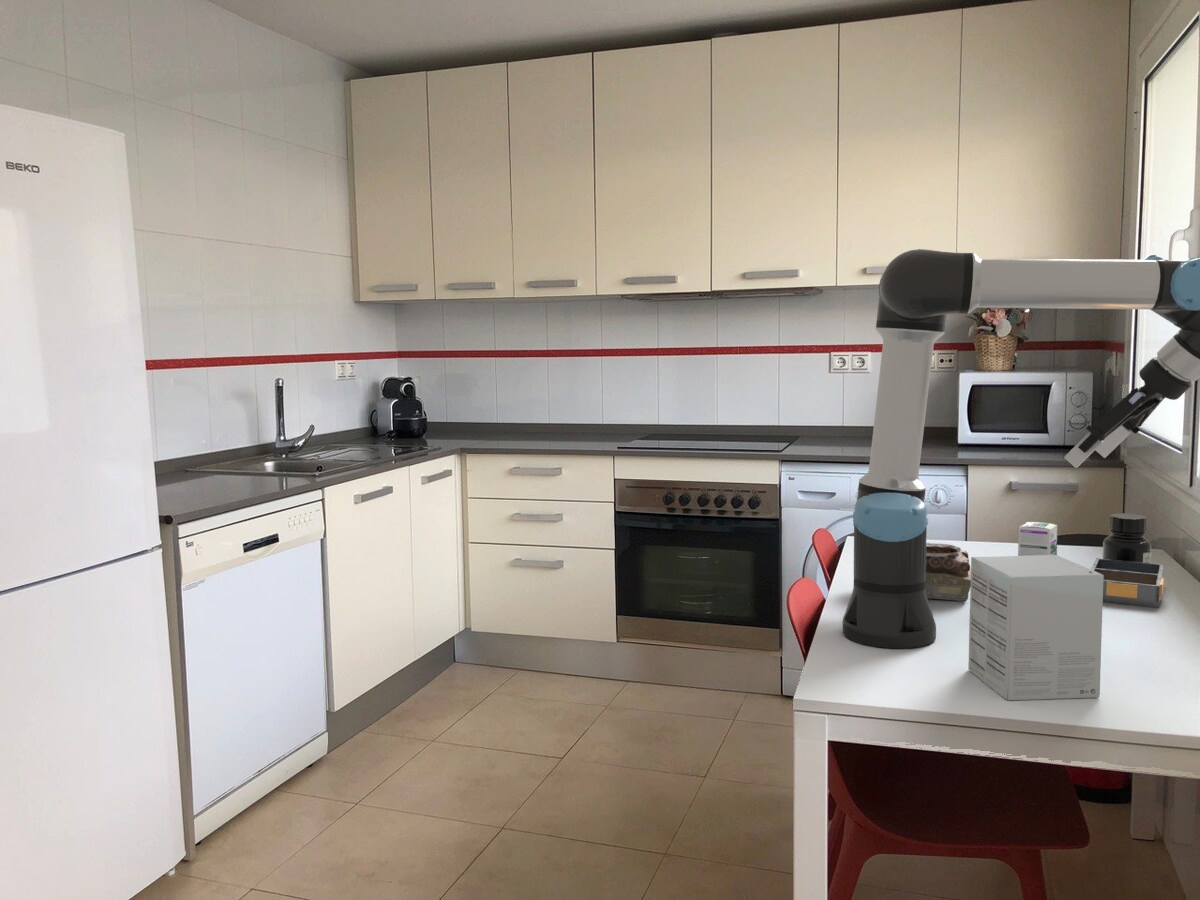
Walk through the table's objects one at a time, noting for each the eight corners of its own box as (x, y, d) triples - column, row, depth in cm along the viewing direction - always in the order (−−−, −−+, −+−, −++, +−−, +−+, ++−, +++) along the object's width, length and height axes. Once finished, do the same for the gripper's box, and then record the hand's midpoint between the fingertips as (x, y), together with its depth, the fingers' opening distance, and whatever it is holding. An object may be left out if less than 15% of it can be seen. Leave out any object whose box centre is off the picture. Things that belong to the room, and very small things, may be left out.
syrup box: (1049, 604, 177) (1052, 528, 175) (1016, 600, 180) (1018, 525, 179) (1056, 598, 181) (1058, 523, 180) (1023, 593, 185) (1025, 520, 183)
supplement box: (1052, 667, 143) (1056, 553, 142) (1101, 698, 130) (1106, 574, 128) (966, 669, 143) (968, 555, 141) (1006, 701, 130) (1009, 576, 128)
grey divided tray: (1161, 608, 173) (1162, 587, 173) (1085, 600, 180) (1085, 579, 179) (1165, 584, 190) (1166, 564, 190) (1095, 577, 197) (1096, 558, 196)
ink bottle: (1158, 577, 195) (1160, 520, 194) (1112, 577, 197) (1114, 520, 195) (1139, 567, 205) (1141, 512, 204) (1095, 566, 206) (1097, 512, 205)
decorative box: (969, 611, 174) (970, 559, 173) (858, 601, 182) (859, 551, 181) (975, 594, 186) (976, 545, 185) (870, 585, 194) (871, 538, 193)
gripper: (1168, 390, 150) (1074, 482, 162) (1214, 378, 166) (1126, 462, 179) (1130, 359, 153) (1041, 451, 165) (1179, 350, 170) (1094, 435, 182)
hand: (1085, 457), depth 172 cm, fingers open, 13 cm apart
